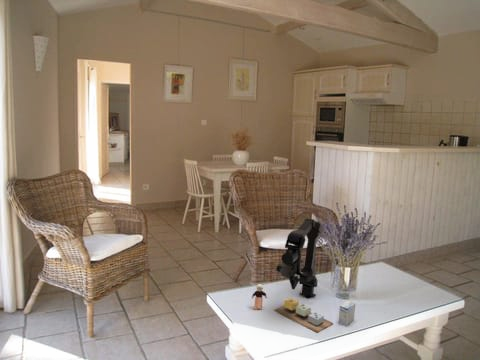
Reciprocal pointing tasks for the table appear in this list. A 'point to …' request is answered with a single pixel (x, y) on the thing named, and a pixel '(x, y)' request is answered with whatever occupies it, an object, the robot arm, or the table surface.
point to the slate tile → (315, 318)
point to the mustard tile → (291, 303)
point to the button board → (302, 319)
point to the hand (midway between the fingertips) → (293, 289)
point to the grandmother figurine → (258, 297)
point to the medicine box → (346, 313)
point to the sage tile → (303, 309)
